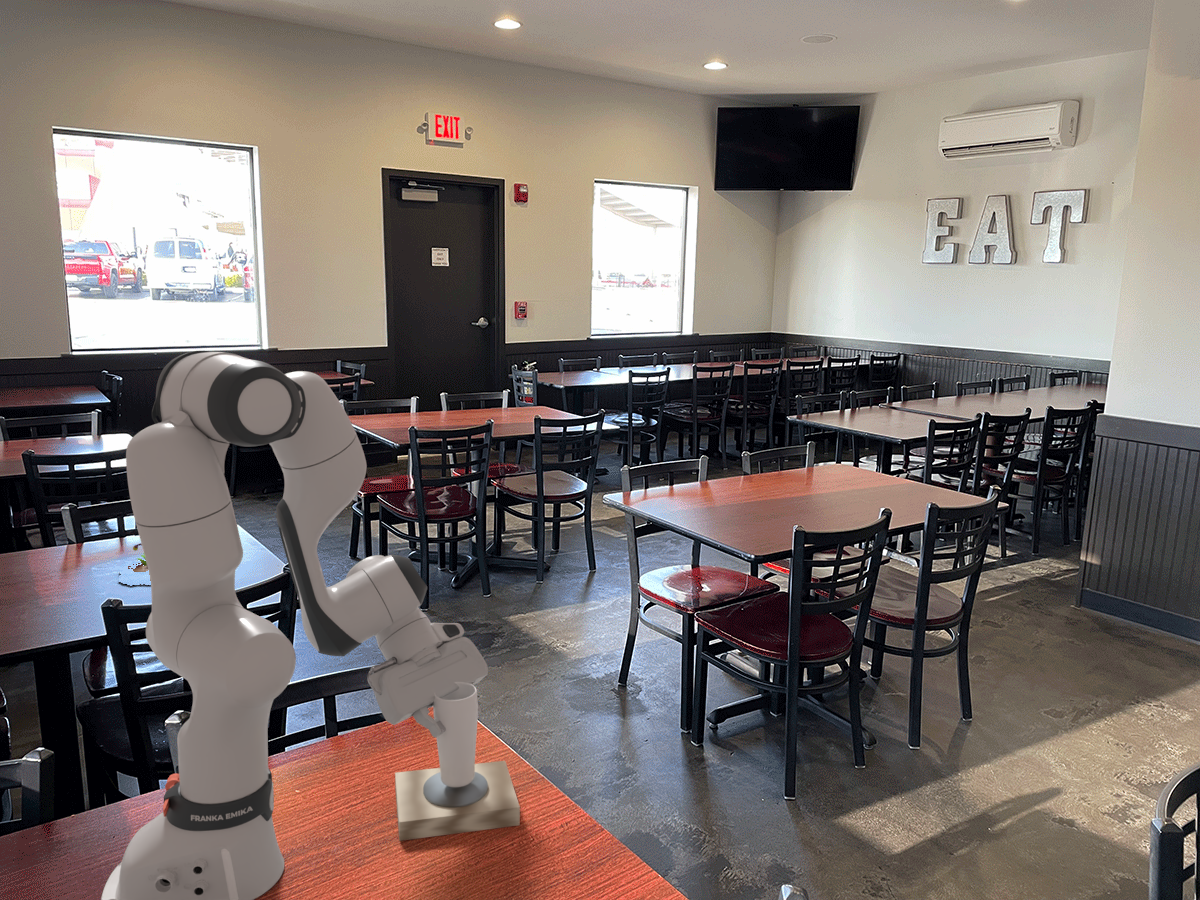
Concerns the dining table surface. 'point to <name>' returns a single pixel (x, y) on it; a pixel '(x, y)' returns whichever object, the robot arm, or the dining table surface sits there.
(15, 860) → the dining table surface
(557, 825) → the dining table surface
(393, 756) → the dining table surface
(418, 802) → the block
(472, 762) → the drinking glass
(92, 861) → the dining table surface
